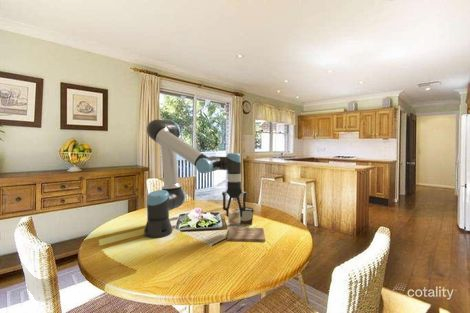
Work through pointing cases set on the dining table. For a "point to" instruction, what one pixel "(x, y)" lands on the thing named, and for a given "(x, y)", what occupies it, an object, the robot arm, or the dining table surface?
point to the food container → (246, 216)
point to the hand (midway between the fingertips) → (234, 222)
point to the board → (246, 234)
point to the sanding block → (234, 218)
